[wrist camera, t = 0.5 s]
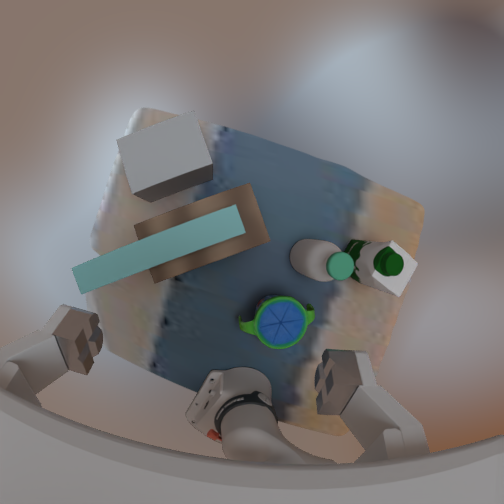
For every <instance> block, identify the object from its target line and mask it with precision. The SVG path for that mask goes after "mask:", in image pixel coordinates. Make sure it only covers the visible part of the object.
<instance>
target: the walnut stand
mask: <svg viewBox="0 0 504 504" xmlns="http://www.w3.org/2000/svg"><path fill="white" fill-rule="evenodd" d="M235 204H236V206H237V209H238V212H239V215H240V218H241V221H242V223H243V226H244V229H245V232H246V233H244V234H241V235H238V236H235V237H233V238H230V239H227V240H224V241H222V242H219V243H216V244H213V245H211V246H208V247H205V248H202V249H200V250H197V251H194V252H192V253H189V254H186V255H183V256H181V257H178V258H175V259H173V260H170V261H167V262H165V263H162V264H159V265H157V266H154V267H151V268H149V270H150V272H151V275H152V278H153V280H154V283H158V282H160V281H163V280H166V279H169V278H171V277H174V276H177V275H179V274H182V273H185V272H188V271H190V270H193V269H196V268H198V267H201V266H204V265H207V264H209V263H212V262H215V261H218V260H220V259H223V258H226V257H228V256H231V255H234V254H237V253H239V252H242V251H245V250H248V249H250V248H253V247H256V246H259V245H261V244H264V243H267V242H269V241H270V238H269V235H268V232H267V230H266V227H265V224H264V221H263V218H262V215H261V212H260V210H259V207H258V204H257V201H256V198H255V196H254V193H253V190H252V187H251V184H250V183H248V184H245V185H242V186H239V187H236V188H233V189H230V190H227V191H224V192H221V193H218V194H216V195H213V196H210V197H207V198H204V199H202V200H199V201H196V202H193V203H191V204H188V205H185V206H182V207H180V208H177V209H174V210H172V211H169V212H167V213H164V214H161V215H159V216H156V217H154V218H151V219H149V220H146V221H143V222H141V223H138V224H136V225H134V228H135V231H136V234H137V237H138V240H141V239H144V238H146V237H149V236H151V235H154V234H157V233H159V232H162V231H164V230H167V229H170V228H172V227H175V226H178V225H180V224H183V223H186V222H188V221H191V220H194V219H196V218H199V217H202V216H205V215H207V214H210V213H213V212H216V211H218V210H221V209H224V208H227V207H230V206H233V205H235Z"/></svg>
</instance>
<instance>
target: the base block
mask: <svg viewBox="0 0 504 504" xmlns="http://www.w3.org/2000/svg"><path fill="white" fill-rule="evenodd" d="M117 144H118V147H119V151H120V155H121V158H122V162H123V165H124V169H125V172H126V176H127V179H128V182H129V186H130V189H131V192H132V194H134V195H136V196H138V197H140V198H142V199H144V200H147V201H149V202H153V201H156V200H158V199H161V198H163V197H166V196H169V195H171V194H174V193H176V192H179V191H182V190H185V189H187V188H190V187H193V186H196V185H198V184H201V183H204V182H207V181H210V180H212V179H213V163H212V160H211V157H210V154H209V152H208V149H207V146H206V143H205V140H204V137H203V135H202V132H201V129H200V126H199V123H198V120H197V117H196V114H195V112H194V111H191V112H188V113H185V114H183V115H179V116H177V117H174V118H171V119H168V120H165V121H163V122H160V123H157V124H155V125H152V126H149V127H147V128H144V129H142V130H139V131H137V132H134V133H132V134H129V135H127V136H125V137H122V138H120V139H118V140H117Z"/></svg>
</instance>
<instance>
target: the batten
mask: <svg viewBox="0 0 504 504" xmlns="http://www.w3.org/2000/svg"><path fill="white" fill-rule="evenodd" d="M244 233H246V232H245V229H244V226H243V223H242V221H241V218H240V215H239V212H238V209H237V206H236V204H235V205H233V206H230V207H227V208H224V209H221V210H218V211H216V212H213V213H210V214H207V215H205V216H202V217H199V218H196V219H194V220H191V221H188V222H186V223H183V224H180V225H178V226H175V227H172V228H170V229H167V230H164V231H162V232H159V233H157V234H154V235H151V236H149V237H146V238H144V239H141V240H139V241H136V242H134V243H131V244H129V245H126V246H124V247H121V248H119V249H116V250H114V251H111V252H109V253H106V254H104V255H102V256H99V257H97V258H94V259H92V260H90V261H87V262H85V263H83V264H80V265H78V266H76V267H73V268H72V271H73V274H74V276H75V279H76V282H77V284H78V287H79V290H80V292H81V294H84V293H86V292H89V291H92V290H94V289H97V288H99V287H102V286H104V285H107V284H110V283H112V282H115V281H117V280H120V279H123V278H125V277H128V276H130V275H133V274H136V273H138V272H141V271H143V270H146V269H149V268H151V267H154V266H157V265H159V264H162V263H165V262H167V261H170V260H173V259H175V258H178V257H181V256H183V255H186V254H189V253H192V252H194V251H197V250H200V249H202V248H205V247H208V246H211V245H213V244H216V243H219V242H222V241H224V240H227V239H230V238H233V237H235V236H238V235H241V234H244Z"/></svg>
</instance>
